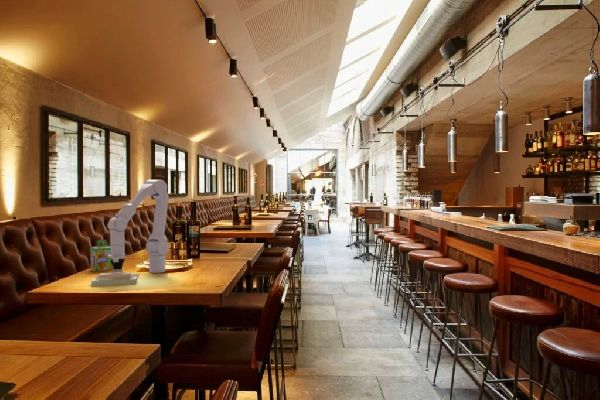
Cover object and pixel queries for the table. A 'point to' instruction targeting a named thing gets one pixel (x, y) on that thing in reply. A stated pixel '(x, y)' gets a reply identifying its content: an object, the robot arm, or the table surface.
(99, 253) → the chalk box
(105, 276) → the t block
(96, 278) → the board
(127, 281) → the off-white long channel
